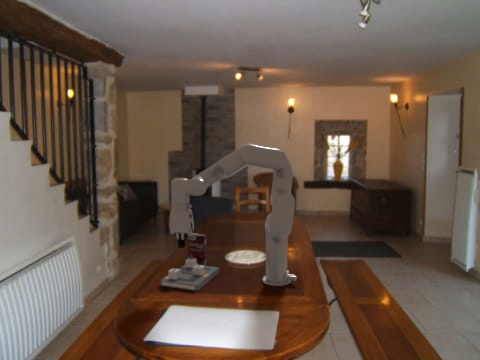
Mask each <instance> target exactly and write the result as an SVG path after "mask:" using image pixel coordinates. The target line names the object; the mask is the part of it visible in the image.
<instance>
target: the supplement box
mask: <svg viewBox="0 0 480 360" xmlns="http://www.w3.org/2000/svg"><path fill="white" fill-rule="evenodd" d="M187 240H188V241H187V250H188V251H187V252H188V253H187V255H188V258H196V259H197V265H204V266H207V262H208V261H207V258H208V257H207V253H208V252H207V250H208V249H207V246H208V245H207V233H195V232H193V235H191V236H188V237H187ZM188 258H187V259H188Z"/></svg>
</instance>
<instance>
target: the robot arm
mask: <svg viewBox="0 0 480 360" xmlns="http://www.w3.org/2000/svg"><path fill="white" fill-rule="evenodd" d="M248 166H252V167H253V166H254V167H258V168H265V169H269V170H272V174H273V175H272V186H271V192H270V197H269V203H270V205H271V207H272V208H271V213H269V214H268V215H267V216H266V219H265V221H264V227H265V228H264V231H265V275H264V276H263V277H262V282H263V283H264V284H265V285H268V286H272V287H284V286H286V285H289V284H290V283H291V281H294V282H295V281H297V279H298V278H297V276H296V275H295V274H290V270H288V236H289V235H290V234H291V232H292V230H293V229H292V228H293V222H294V217H295V216H294V215H295V209H296V200H295V197H294V196H293V194H292V189H293V188H292V187H293V177H294V173H293V167H292V164H291V162H290V160H289V158H288V157H287V154H286V153H285V152H284V151H283V150H281V149H279V148H275V147H273V148H272V147H271V148H270V147H265V146H260V145H255V144H253V143H245V144H242V145H240V147H237V148H236V149H235V150H233V151H232V152H231V153H229V154H227V155H226V156H224V157H223V158H221V159H219V160H218V161H216V162H215V163H214V164H213V163H212V165H210V166H209V167H207V168H205V169H204V170H203V171H201V172H199V173H198V174H196V175H195V176H193V177H192V178H191V179H188V178H185V177H176V178H173V179H171V181H170V184H171V185H170V188H171V191H170V192H171V209H170V212H169V218H168V219H169V224H168V227H169V231H170V232H169V233H170V235H173V236H175V238H176V240H177V246H178V249H180V250H181V249H184V248H186V239H188V236H191V235H193V233H194V232H193V231H194V230H195V221H194V215H193V211H192V209H191V208H192V207H193V205H192V204H190V196H196V197H198V196H203V195H204V194H205V193H206V191H207V189H208V188H209V187H211V186H213V185H214V184H216V183H218V182H219V181H221V180H224V179H228V178H230V177H232V176H233V175H235V174H237V173H239V172H240V171H241V170H243V169H244V168H247V167H248Z"/></svg>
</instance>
